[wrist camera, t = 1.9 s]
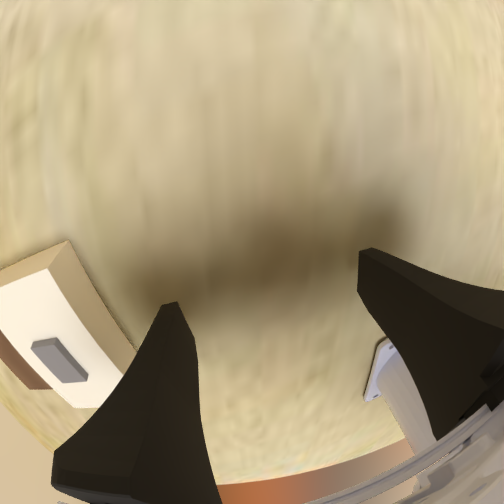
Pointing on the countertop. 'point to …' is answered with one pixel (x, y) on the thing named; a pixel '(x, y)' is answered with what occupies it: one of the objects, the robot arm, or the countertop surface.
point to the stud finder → (63, 326)
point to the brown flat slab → (20, 365)
